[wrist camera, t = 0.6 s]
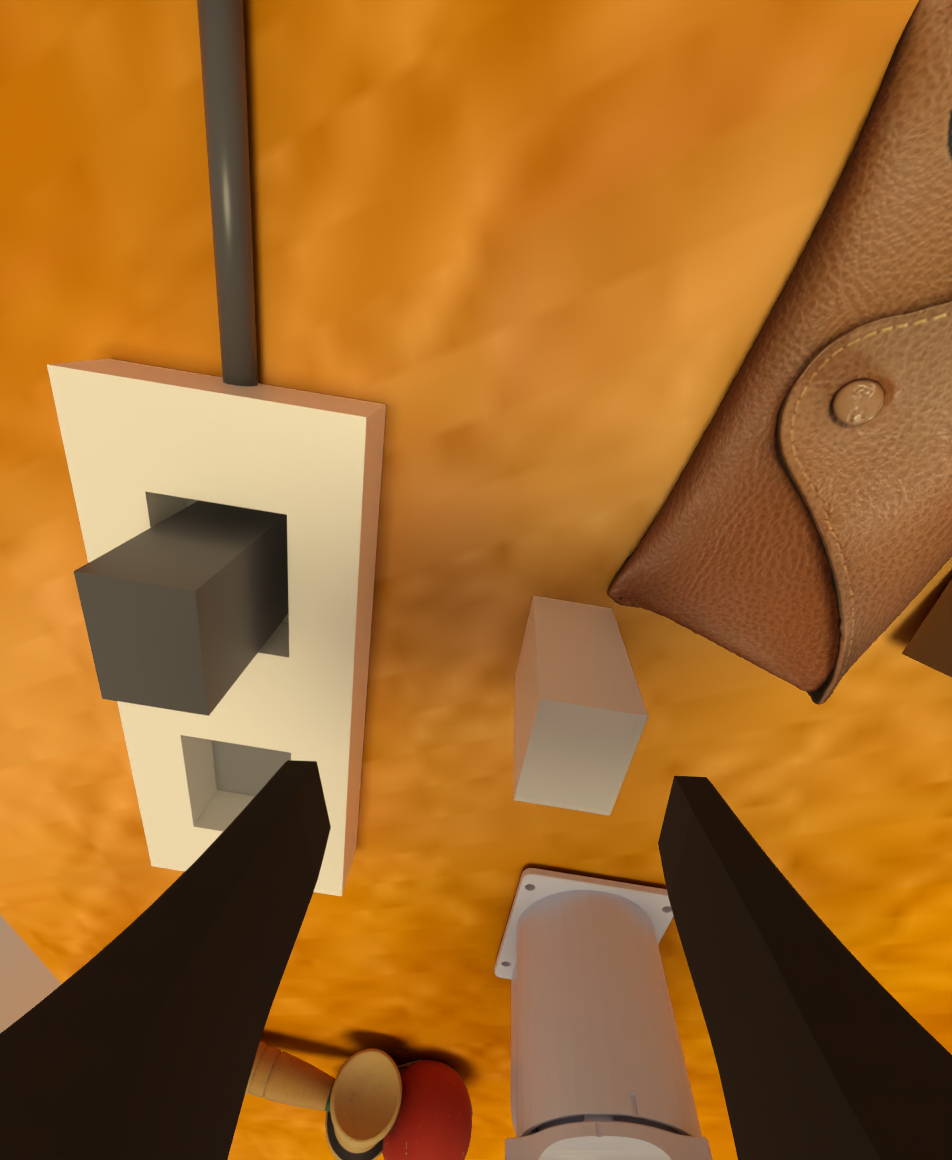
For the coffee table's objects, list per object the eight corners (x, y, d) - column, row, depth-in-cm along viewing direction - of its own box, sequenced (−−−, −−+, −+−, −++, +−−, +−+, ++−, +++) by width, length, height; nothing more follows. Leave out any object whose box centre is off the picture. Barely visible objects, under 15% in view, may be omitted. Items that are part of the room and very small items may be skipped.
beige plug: (586, 691, 21) (610, 815, 16) (514, 680, 21) (513, 800, 16) (612, 608, 20) (648, 716, 14) (533, 595, 20) (540, 698, 14)
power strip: (356, 848, 27) (312, 994, 21) (182, 820, 27) (89, 959, 21) (415, -34, 12) (326, -350, 6) (37, -98, 12) (-393, -473, 6)
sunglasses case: (925, -59, 12) (1474, -238, 7) (1020, 104, 15) (1416, 64, 10) (593, 607, 20) (734, 744, 15) (708, 607, 23) (851, 717, 18)
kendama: (238, 1036, 40) (465, 1121, 38) (179, 1142, 34) (446, 1250, 32) (247, 962, 38) (489, 1048, 36) (186, 1061, 32) (473, 1171, 30)
